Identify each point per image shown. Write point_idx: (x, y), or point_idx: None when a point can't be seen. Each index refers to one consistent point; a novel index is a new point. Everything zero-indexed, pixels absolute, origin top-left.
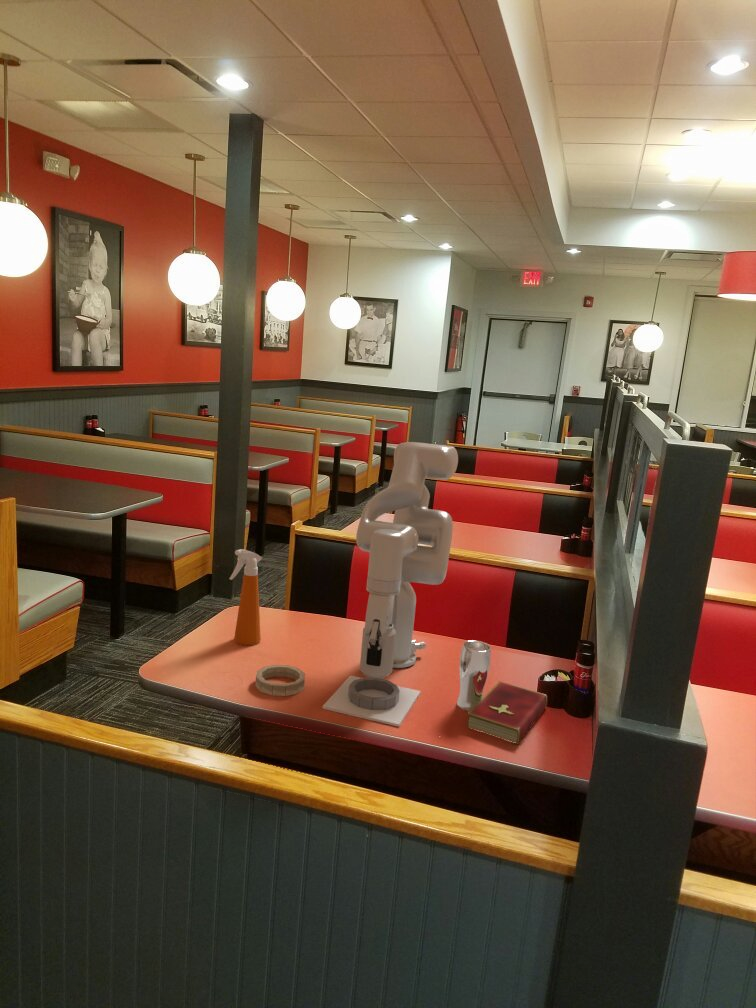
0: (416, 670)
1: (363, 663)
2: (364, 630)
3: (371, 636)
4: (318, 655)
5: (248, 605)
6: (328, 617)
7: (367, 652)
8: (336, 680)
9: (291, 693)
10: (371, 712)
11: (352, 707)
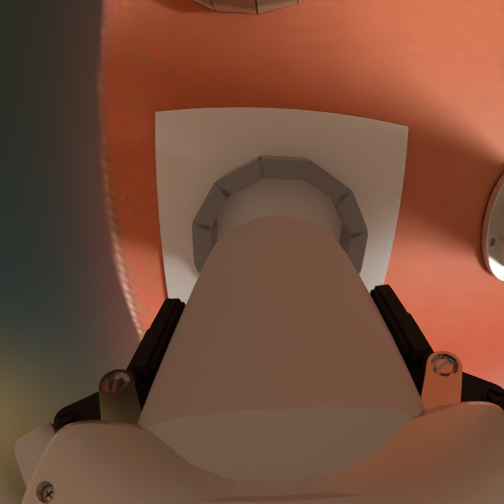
0: (476, 289)
1: (205, 266)
2: (45, 451)
3: (19, 455)
4: (477, 29)
5: None
6: None
7: (142, 343)
8: (369, 86)
9: (199, 2)
10: (190, 253)
11: (189, 195)
